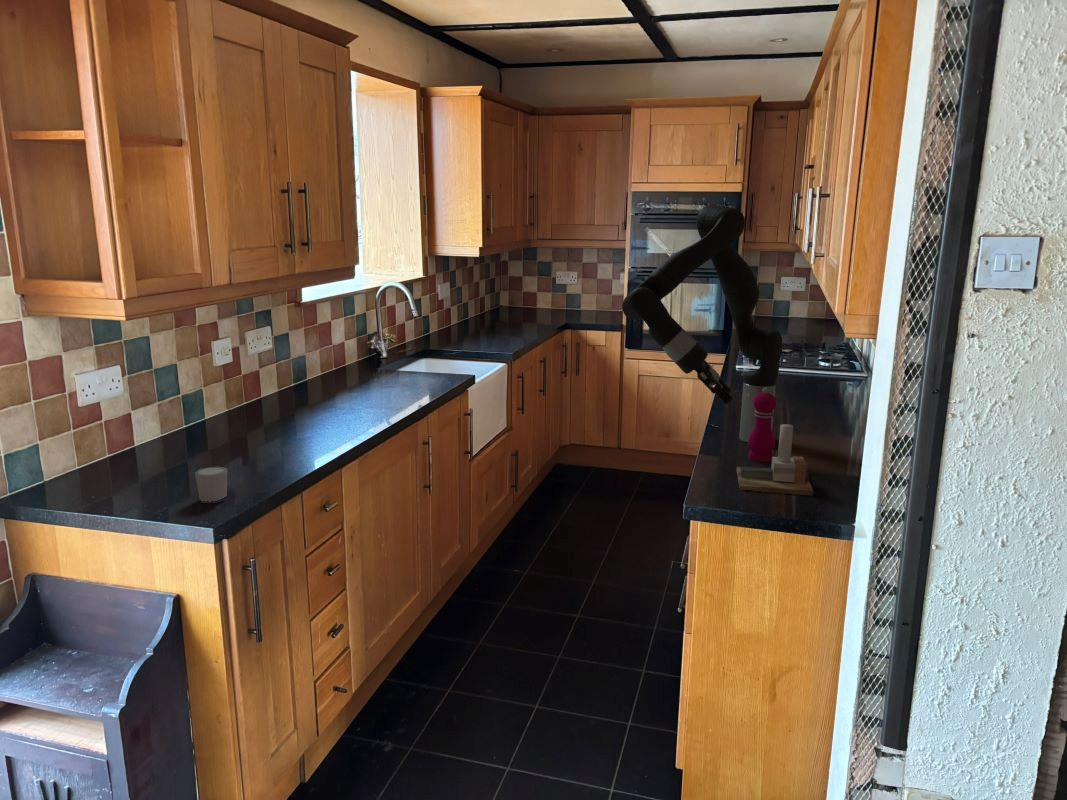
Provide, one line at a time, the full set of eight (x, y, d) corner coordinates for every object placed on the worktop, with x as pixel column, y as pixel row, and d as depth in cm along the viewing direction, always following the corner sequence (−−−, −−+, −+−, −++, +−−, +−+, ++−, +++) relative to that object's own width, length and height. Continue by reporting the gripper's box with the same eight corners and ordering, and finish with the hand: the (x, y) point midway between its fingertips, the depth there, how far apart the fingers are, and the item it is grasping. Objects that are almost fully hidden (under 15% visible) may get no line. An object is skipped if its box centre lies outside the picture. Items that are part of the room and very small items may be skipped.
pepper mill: (769, 454, 219) (774, 384, 214) (777, 462, 211) (784, 390, 207) (743, 454, 218) (748, 384, 214) (751, 462, 211) (757, 390, 207)
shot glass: (211, 493, 183) (208, 464, 182) (236, 496, 181) (233, 467, 180) (190, 503, 177) (187, 473, 175) (216, 506, 175) (213, 477, 173)
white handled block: (770, 473, 198) (775, 422, 195) (791, 474, 197) (796, 423, 194) (772, 480, 192) (777, 428, 189) (794, 482, 192) (799, 429, 188)
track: (736, 470, 204) (738, 448, 203) (804, 475, 201) (806, 452, 200) (739, 490, 190) (741, 465, 188) (813, 495, 187) (815, 470, 185)
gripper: (696, 345, 188) (742, 394, 189) (695, 336, 202) (738, 381, 203) (672, 366, 191) (718, 414, 191) (673, 355, 204) (716, 400, 205)
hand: (728, 397), depth 197 cm, fingers open, 8 cm apart
